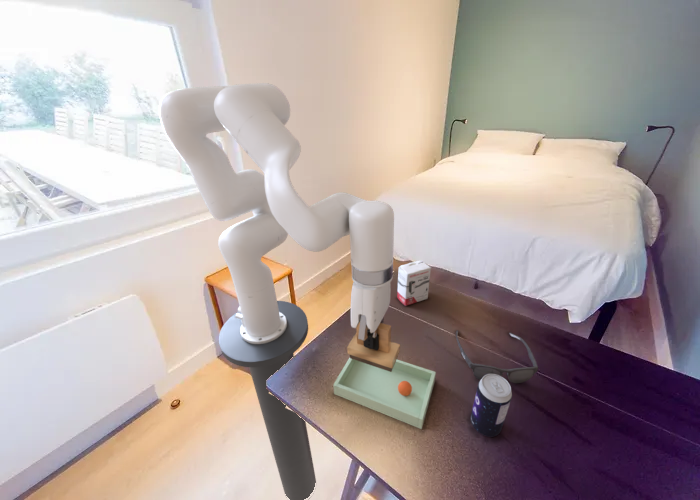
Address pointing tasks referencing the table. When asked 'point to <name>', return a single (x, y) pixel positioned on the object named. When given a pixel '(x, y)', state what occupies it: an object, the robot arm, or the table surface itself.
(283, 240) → the robot arm
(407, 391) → the crumb ball
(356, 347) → the brush
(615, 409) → the table surface
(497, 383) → the beverage can
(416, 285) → the ink box
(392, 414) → the tray
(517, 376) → the sunglasses
